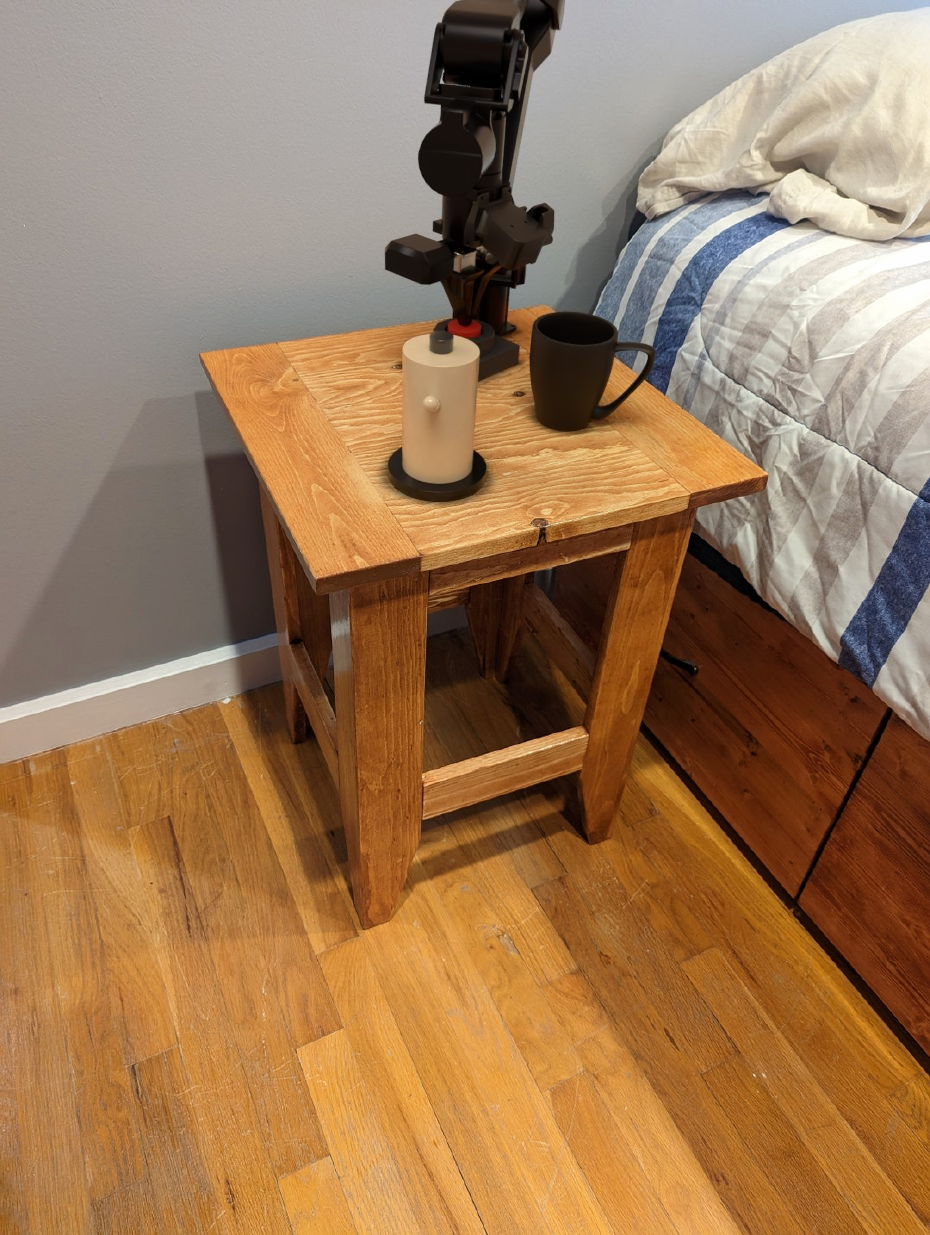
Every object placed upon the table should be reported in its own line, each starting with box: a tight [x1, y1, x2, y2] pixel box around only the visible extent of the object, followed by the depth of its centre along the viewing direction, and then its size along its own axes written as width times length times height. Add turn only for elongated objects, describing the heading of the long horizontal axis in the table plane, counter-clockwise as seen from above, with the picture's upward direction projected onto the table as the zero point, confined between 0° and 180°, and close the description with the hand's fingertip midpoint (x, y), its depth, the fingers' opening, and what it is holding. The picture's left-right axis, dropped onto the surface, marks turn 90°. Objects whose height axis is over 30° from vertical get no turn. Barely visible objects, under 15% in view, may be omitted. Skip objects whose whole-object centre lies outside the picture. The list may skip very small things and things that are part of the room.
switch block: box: [432, 318, 521, 382], centre depth 95 cm, size 10×8×4 cm
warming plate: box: [387, 446, 488, 503], centre depth 79 cm, size 9×9×1 cm
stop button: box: [448, 319, 481, 338], centre depth 94 cm, size 4×4×2 cm
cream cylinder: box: [401, 331, 480, 484], centre depth 74 cm, size 9×6×12 cm
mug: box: [528, 310, 657, 432], centre depth 85 cm, size 8×12×10 cm
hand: (464, 325), depth 94 cm, fingers closed, pressing on stop button
